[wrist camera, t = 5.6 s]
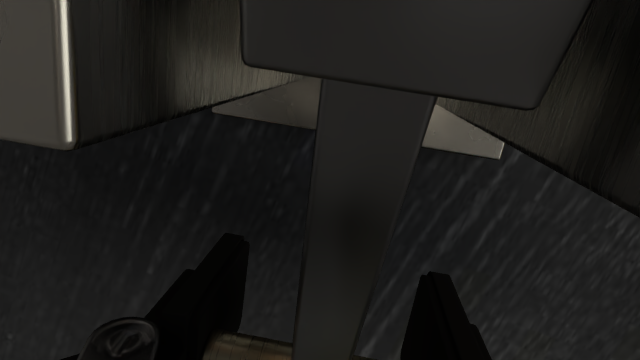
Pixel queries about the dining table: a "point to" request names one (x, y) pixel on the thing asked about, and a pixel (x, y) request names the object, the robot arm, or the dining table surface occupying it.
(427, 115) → the switch lever
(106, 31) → the metal stand
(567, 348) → the dining table surface
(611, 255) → the dining table surface
